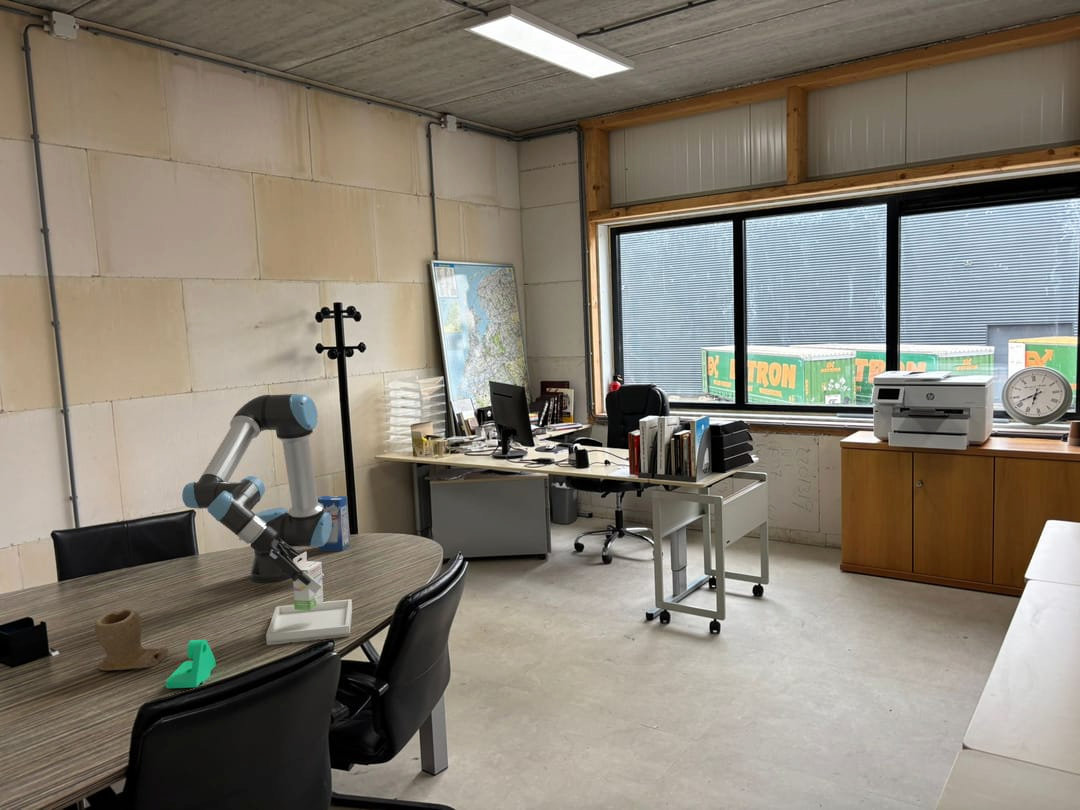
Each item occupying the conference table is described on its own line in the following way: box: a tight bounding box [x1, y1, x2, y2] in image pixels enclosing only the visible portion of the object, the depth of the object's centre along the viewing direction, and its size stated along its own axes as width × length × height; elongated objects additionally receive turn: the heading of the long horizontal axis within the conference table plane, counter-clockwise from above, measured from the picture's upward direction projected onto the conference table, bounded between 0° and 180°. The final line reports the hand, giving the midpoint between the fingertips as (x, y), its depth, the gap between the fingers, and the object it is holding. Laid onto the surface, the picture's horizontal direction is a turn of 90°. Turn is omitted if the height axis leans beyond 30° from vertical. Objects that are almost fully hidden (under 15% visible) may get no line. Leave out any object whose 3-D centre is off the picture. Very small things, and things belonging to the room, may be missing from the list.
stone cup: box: [94, 608, 170, 671], centre depth 203 cm, size 15×12×15 cm
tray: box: [265, 598, 353, 646], centre depth 228 cm, size 22×22×3 cm
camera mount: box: [165, 639, 217, 689], centre depth 195 cm, size 12×8×10 cm, turn 2°
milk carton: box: [317, 495, 350, 552], centre depth 307 cm, size 10×6×20 cm, turn 79°
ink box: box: [292, 551, 324, 610], centre depth 226 cm, size 9×5×15 cm, turn 168°
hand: (319, 584), depth 227 cm, fingers closed on ink box, 9 cm apart
